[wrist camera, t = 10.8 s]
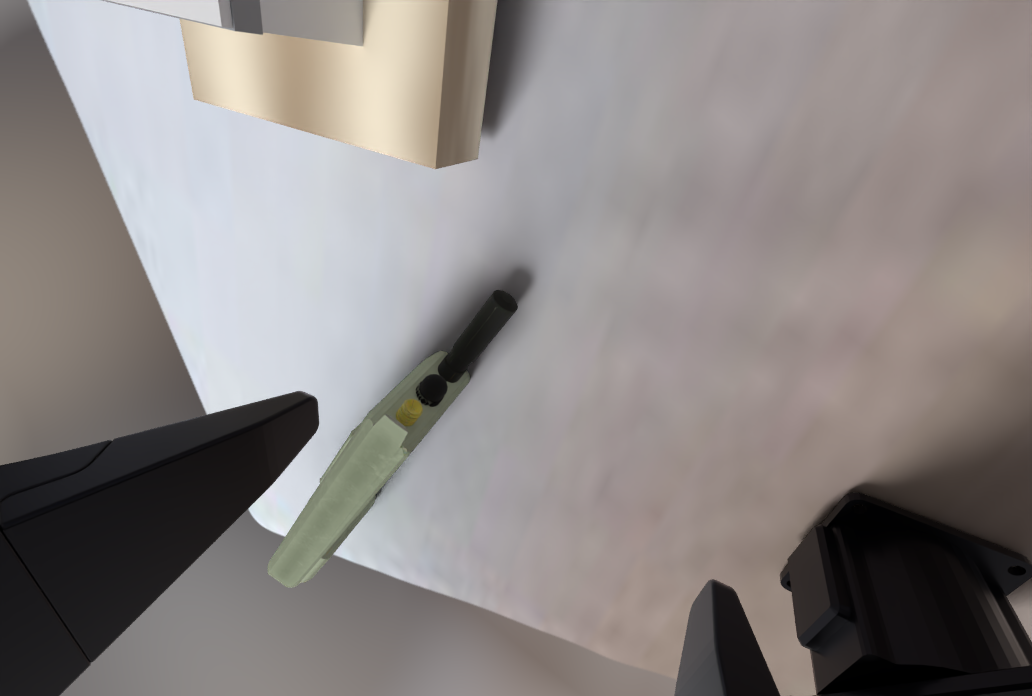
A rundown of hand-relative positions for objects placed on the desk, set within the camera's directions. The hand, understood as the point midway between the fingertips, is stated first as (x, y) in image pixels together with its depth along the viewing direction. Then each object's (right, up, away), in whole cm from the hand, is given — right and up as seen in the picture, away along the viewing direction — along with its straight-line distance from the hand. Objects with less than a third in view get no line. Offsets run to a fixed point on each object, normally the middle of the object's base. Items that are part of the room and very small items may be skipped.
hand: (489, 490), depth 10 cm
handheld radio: (-6, -2, +19) cm, 20 cm away
